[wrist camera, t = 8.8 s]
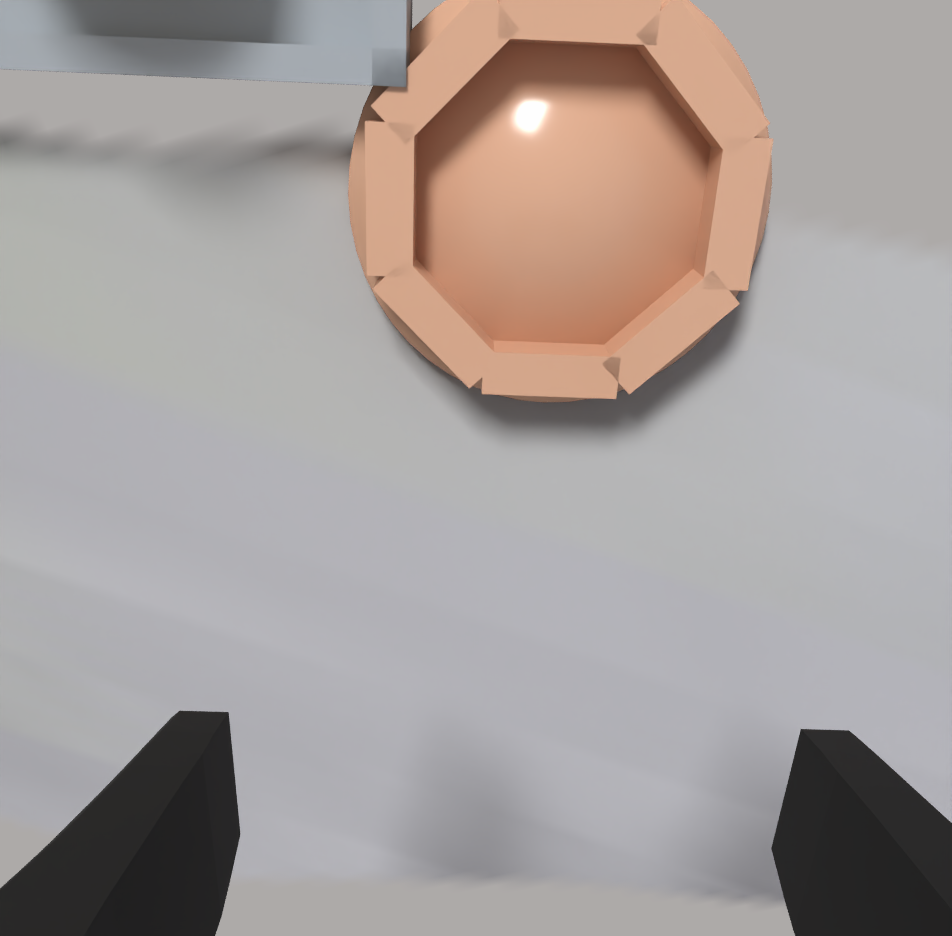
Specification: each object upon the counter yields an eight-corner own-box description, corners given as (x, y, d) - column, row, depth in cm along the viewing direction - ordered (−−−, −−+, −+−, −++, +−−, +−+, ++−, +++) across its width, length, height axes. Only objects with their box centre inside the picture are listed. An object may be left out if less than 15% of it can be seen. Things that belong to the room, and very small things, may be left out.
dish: (800, -26, 16) (829, -36, 15) (727, 401, 19) (746, 423, 18) (346, -48, 16) (336, -59, 14) (354, 388, 19) (346, 409, 18)
